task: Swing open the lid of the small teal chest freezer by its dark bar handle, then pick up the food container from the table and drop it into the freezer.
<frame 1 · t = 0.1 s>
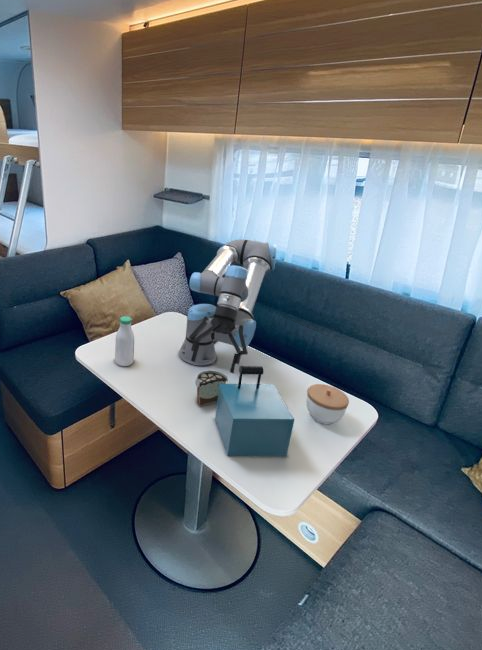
hand: (211, 367, 140), 15 cm above the table, tool tilted 35°, fingers open, 13 cm apart
milk bottle: (124, 361, 170), on the table
lidded bowl: (322, 417, 141), on the table
freezer lid: (256, 390, 125), point 18 cm above the table, hinge at 0.0°
freezer: (248, 437, 130), on the table
food container: (205, 398, 148), on the table
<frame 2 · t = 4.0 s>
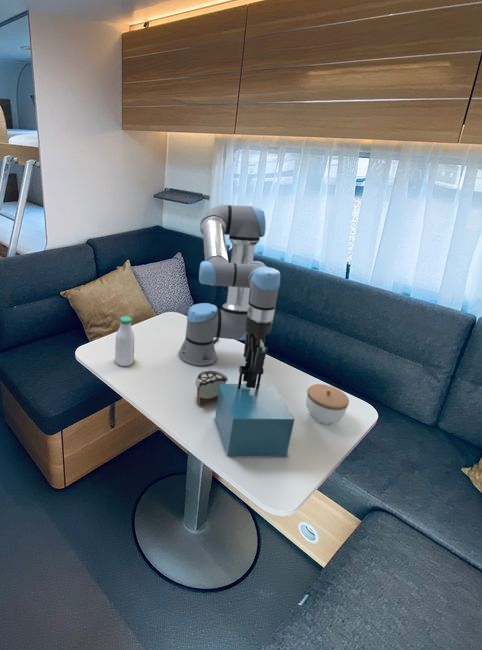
hand: (248, 383, 131), 16 cm above the table, tool pointing down, fingers closed on freezer lid, 3 cm apart
freezer lid: (256, 390, 125), point 18 cm above the table, hinge at 0.0°, touching gripper
everything else where it was.
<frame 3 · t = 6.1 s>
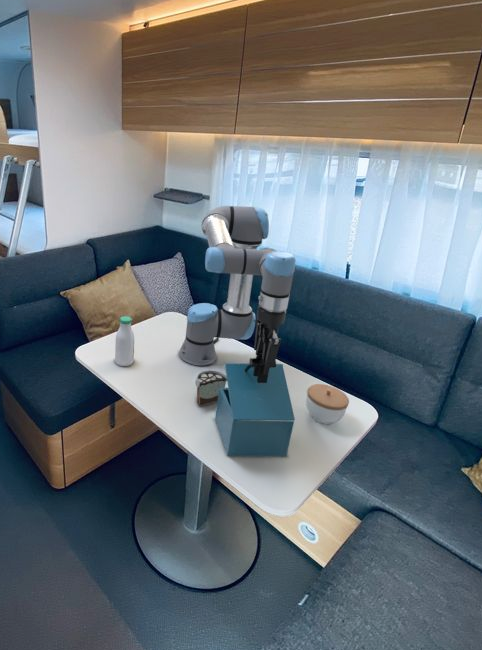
hand: (259, 378, 122), 22 cm above the table, tool pointing down, fingers closed on freezer lid, 3 cm apart
freezer lid: (262, 386, 119), point 22 cm above the table, hinge at 36.9°, touching gripper
everything else where it was.
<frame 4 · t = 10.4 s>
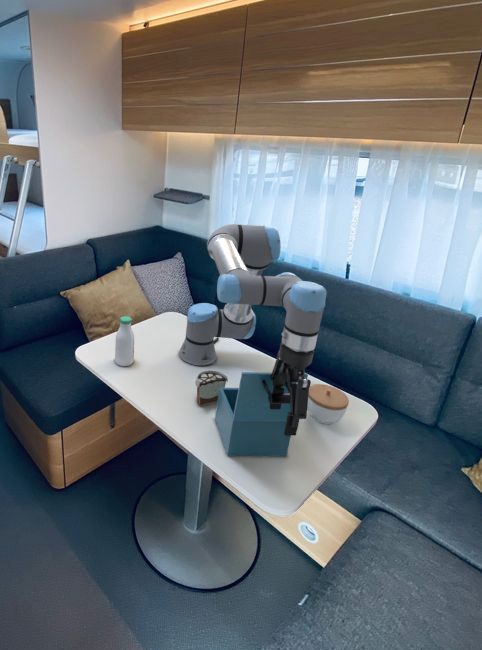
hand: (282, 420, 106), 22 cm above the table, tool pointing down, fingers open, 9 cm apart
freezer lid: (274, 407, 111), point 22 cm above the table, hinge at 94.9°, touching gripper, hand
everything else where it was.
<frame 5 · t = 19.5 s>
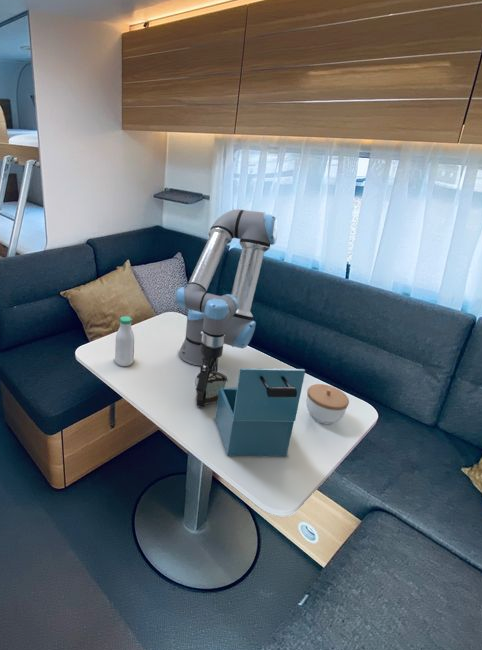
hand: (205, 398, 148), 1 cm above the table, tool pointing down, fingers open, 10 cm apart
freezer lid: (273, 404, 112), point 22 cm above the table, hinge at 88.7°
food container: (205, 398, 149), on the table, touching gripper
everything else where it was.
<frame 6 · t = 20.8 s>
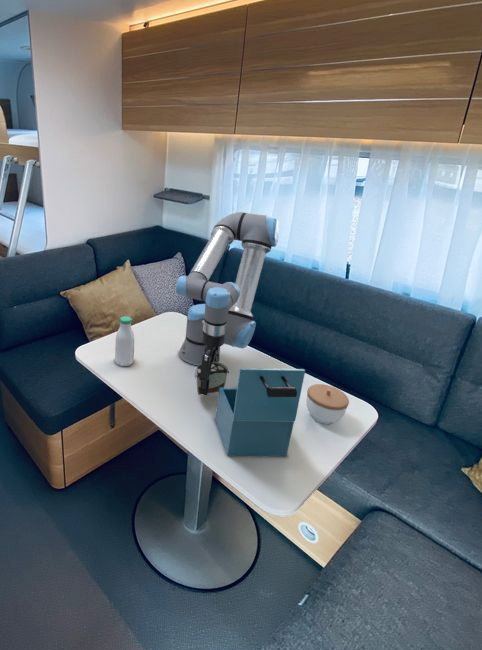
hand: (207, 387, 147), 4 cm above the table, tool pointing down, fingers closed on food container, 8 cm apart
food container: (207, 387, 149), point 3 cm above the table, touching gripper
everything else where it was.
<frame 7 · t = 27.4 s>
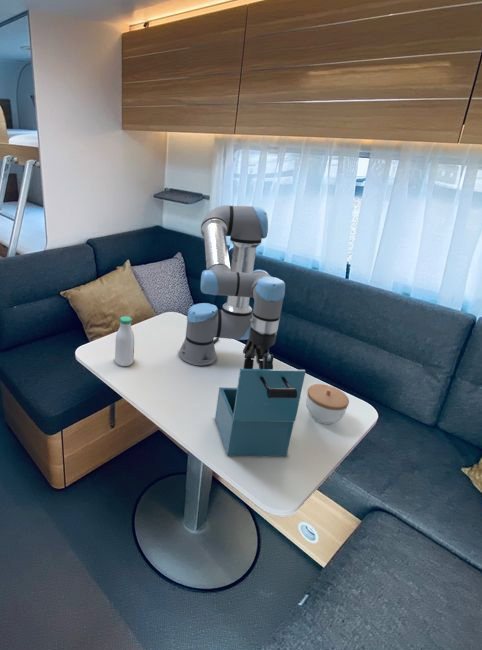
hand: (253, 389, 127), 16 cm above the table, tool pointing down, fingers open, 13 cm apart
freezer lid: (273, 404, 112), point 22 cm above the table, hinge at 89.6°, touching gripper, hand
food container: (245, 428, 133), point 1 cm above the table, touching freezer
everything else where it was.
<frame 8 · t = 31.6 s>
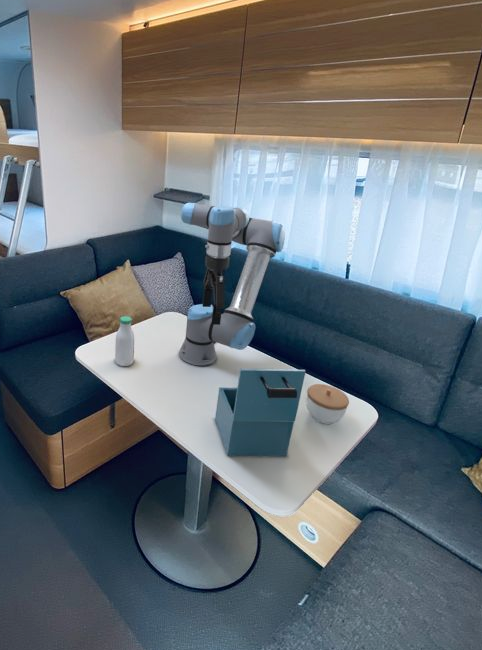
hand: (210, 314, 139), 33 cm above the table, tool pointing down, fingers open, 13 cm apart
freezer lid: (273, 404, 112), point 22 cm above the table, hinge at 89.6°
everything else where it was.
at the end: freezer lid at +90° (first picture: +0°); food container 3.2 cm from the freezer (horizontally); food container point 0.8 cm above the table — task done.
